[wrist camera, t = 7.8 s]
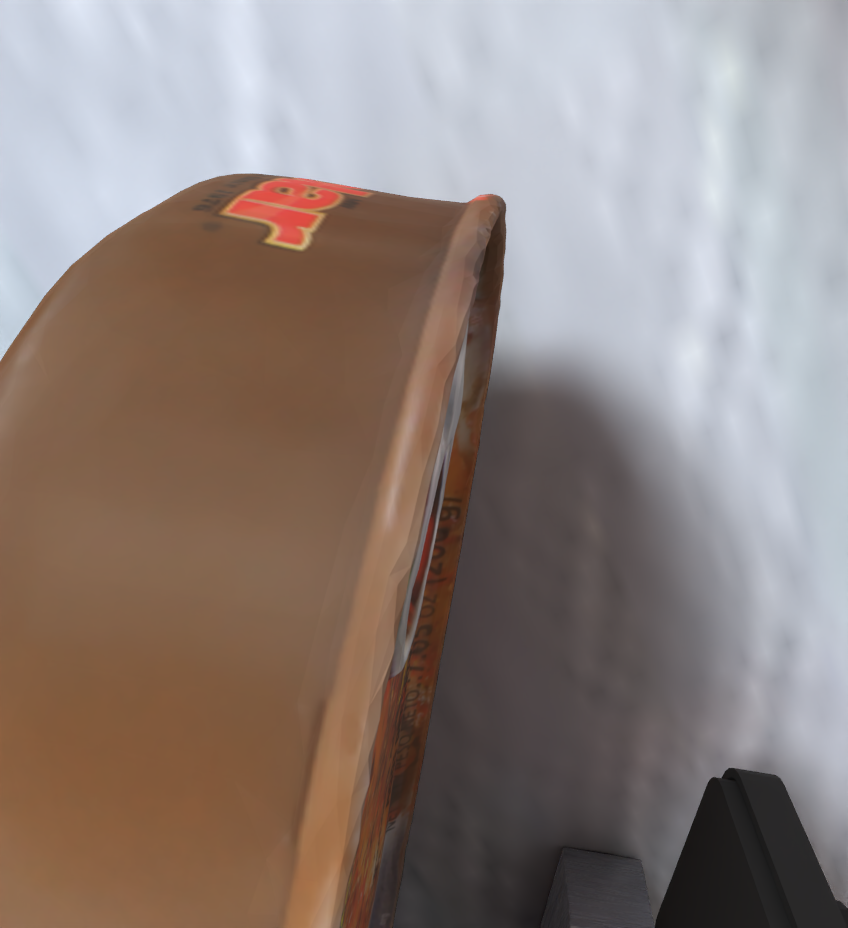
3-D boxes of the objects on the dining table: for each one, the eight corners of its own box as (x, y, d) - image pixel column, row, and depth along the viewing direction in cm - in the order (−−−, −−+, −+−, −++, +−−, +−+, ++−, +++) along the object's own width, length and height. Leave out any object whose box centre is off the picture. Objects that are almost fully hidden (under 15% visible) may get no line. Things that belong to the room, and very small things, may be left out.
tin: (386, 960, 16) (281, 1768, 8) (233, 934, 16) (-18, 1707, 8) (528, 175, 10) (662, 352, 2) (278, 137, 10) (-576, 158, 2)
